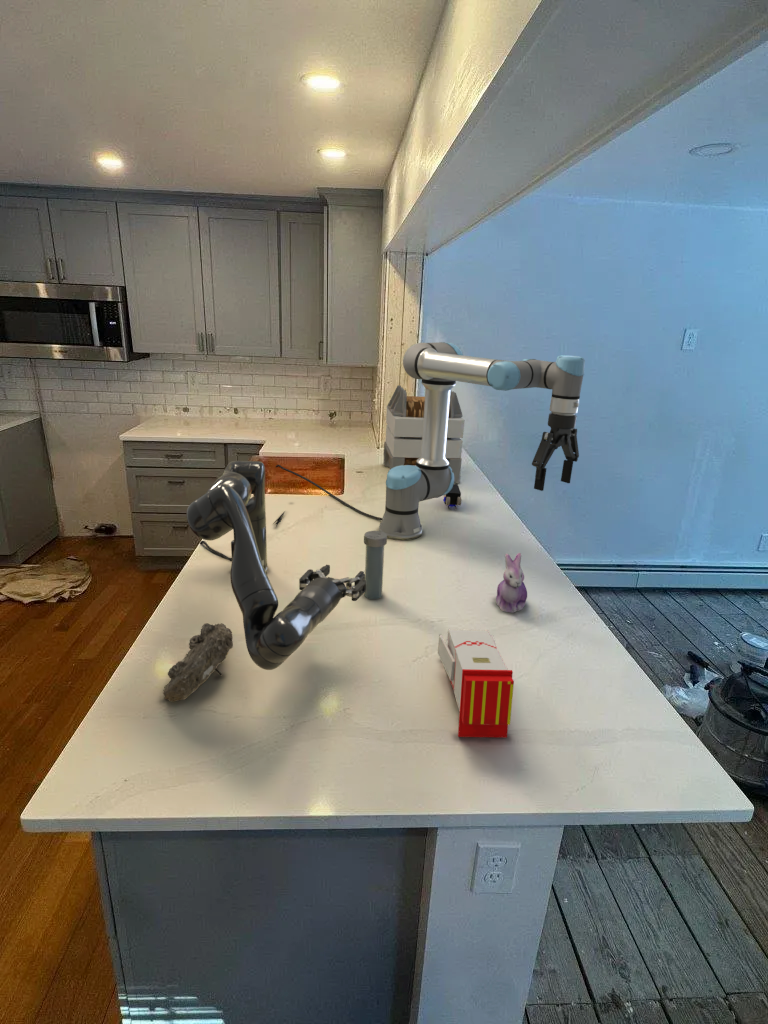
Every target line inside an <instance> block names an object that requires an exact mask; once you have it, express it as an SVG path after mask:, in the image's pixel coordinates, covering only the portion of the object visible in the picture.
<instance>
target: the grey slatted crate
mask: <svg viewBox="0 0 768 1024" xmlns="http://www.w3.org/2000/svg"><path fill="white" fill-rule="evenodd" d="M407 394H408V393H407V390H406V389H404V388H403V387H402V385H399V384H398V385H397V386H396V388H395V390H394V392H393V394H392V395H391V398H390V400H389V402H388V404H387V405H386V413H385V414H386V415H385V423H386V428H385V438H384V442H383V466H384V467H388V468H389V470H390V469H392V468H394V467H396V466H401V465H404V466H405V465H413V466H416V461H417V459H418V458H420V457H421V449H422V434H423V419H424V404H425V396H415V395H414V396H413V395H412V396H411V395H407ZM464 429H465V419H464V418H463V411H462V408H461V405H460V402H459V398H458V395H457V392H455V391H453V390H451V392H450V404H449V416H448V428H447V441H446V453H445V458H446V459H447V461H448V462H449V466H450V467H451V469H452V473H454V484H459V483H461V472H462V461H463V460H462V453H463V442H464V441H463V440H462V439H463V438H464V431H465V430H464Z"/></svg>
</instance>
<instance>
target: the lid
mask: <svg viewBox="0 0 768 1024" xmlns="http://www.w3.org/2000/svg"><path fill="white" fill-rule="evenodd" d="M363 543H364V545H365V546H366V545H367V546H370V547H382V546H384V547H385V546H386V545H387V543H388V538H387V535H386V533H384V532H381V531H379V530H369V531H366V532H365V533H364V535H363Z"/></svg>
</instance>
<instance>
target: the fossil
mask: <svg viewBox="0 0 768 1024" xmlns="http://www.w3.org/2000/svg"><path fill="white" fill-rule="evenodd" d="M233 638H234V637H233V631H232V630H231V628H229V627H227V626H226V625H225V624H224V623H221V622H220V623H217V624H216V623H215V624H212V623H211V624H210V623H207V622H206V623H203V625H202V626H201V628H200V633H199V634H195V635H192V637H191V638H190V639H189V643H188V645H189V646H188V649H189V650H188V652H187V653H186V654H185V656H184V658H183V661H182V660H179V661H177V662H176V663H175V664H173V665H171V667H170V668H169V669H168V671H167V676H168V677H169V679H170V680H169V681H168V682H167V683H166V684H165V685H164V686H163V688H164V689H163V690H162V691H163V693H162V694H163V697H164V698H163V699H164V700H168V701H169V702H171V703H173V702H176V701H177V702H178V701H182V700H183V701H184V700H186V699H187V698H188V697H189V696H191V694H192V693H194V692H195V691H197V690H198V688H200V687H201V686H202V685H203V684H204V683H205V682H206V681H208V679H209V678H210V676H211V674H212V673H214V672H216V673H217V674H218V675H219V676H223V673H222V672H221V671H220V670H219V669H218V666H219V664H222V663H223V662H224V661H225V660H226V658H227V656H228V654H229V652H230V650H231V649H232V648H233V647H234V641H233Z"/></svg>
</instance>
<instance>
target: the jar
mask: <svg viewBox="0 0 768 1024" xmlns="http://www.w3.org/2000/svg"><path fill="white" fill-rule="evenodd" d="M384 559H385V545H384V546H382V547H370V546H367V545H366V544H365V564H364V565H365V567H364V574H365V580H366V592H365V593H364V594H363V595H364V597H365V598H367V599H368V600H369V599H370V600H379V599H381V598H382V597H383V581H384V578H383V577H384V562H385V561H384Z"/></svg>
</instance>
